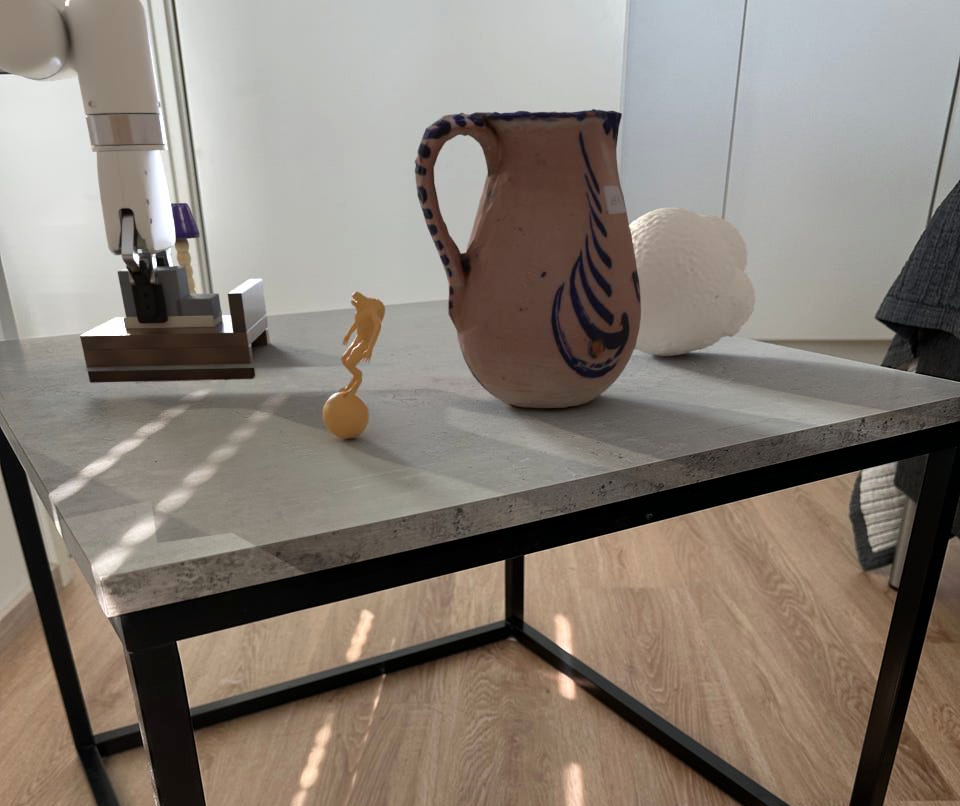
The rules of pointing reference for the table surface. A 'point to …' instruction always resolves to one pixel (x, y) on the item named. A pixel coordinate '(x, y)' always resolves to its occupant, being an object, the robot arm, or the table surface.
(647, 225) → the white lobed lump
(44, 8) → the robot arm
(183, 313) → the trainer
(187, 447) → the table surface
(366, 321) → the figurine
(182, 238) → the toy lamp
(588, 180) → the ceramic pitcher
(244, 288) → the wooden doll bed
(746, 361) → the table surface
